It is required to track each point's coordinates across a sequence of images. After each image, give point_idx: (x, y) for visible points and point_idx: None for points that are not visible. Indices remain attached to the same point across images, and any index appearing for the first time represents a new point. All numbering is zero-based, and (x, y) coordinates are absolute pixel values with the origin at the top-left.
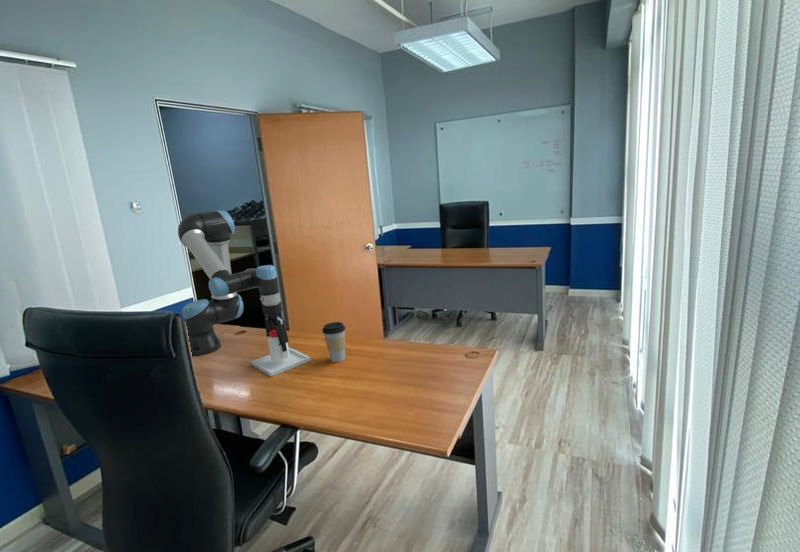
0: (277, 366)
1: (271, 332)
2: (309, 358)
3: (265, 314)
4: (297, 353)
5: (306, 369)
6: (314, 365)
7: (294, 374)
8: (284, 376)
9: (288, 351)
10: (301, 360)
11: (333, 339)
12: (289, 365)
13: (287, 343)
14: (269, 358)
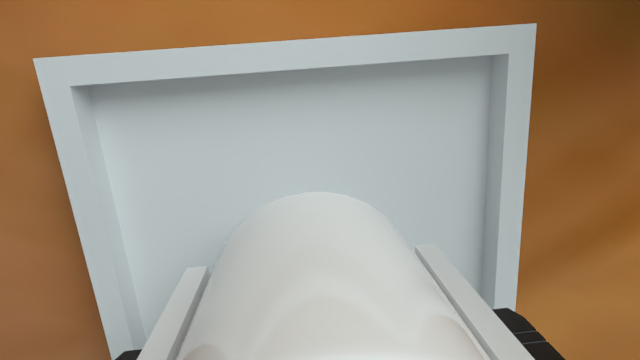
0: None
1: None
2: (531, 41)
3: None
4: (285, 70)
5: (616, 146)
6: (615, 55)
7: (604, 252)
8: (564, 315)
9: (396, 232)
10: (521, 135)
11: None
12: (518, 261)
13: (420, 280)
14: (137, 301)
